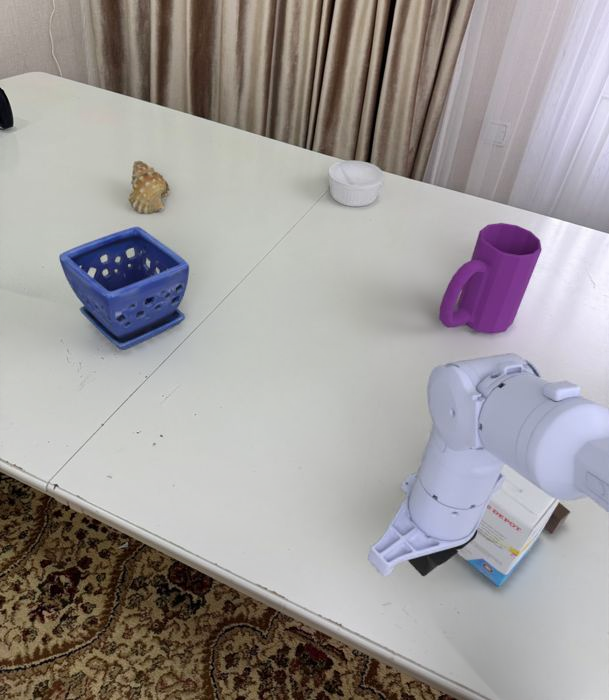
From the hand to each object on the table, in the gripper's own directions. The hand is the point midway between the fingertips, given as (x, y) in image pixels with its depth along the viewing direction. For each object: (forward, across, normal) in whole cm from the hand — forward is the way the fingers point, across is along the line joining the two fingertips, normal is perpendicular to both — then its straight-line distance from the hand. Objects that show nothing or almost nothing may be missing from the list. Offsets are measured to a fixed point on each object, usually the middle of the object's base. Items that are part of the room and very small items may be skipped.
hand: (420, 564), depth 58 cm
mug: (+10, -42, -27) cm, 51 cm away
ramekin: (+10, -53, -68) cm, 87 cm away
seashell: (+10, -17, -88) cm, 90 cm away
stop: (+9, -22, -2) cm, 24 cm away
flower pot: (+10, +2, -56) cm, 57 cm away
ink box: (+10, -14, 0) cm, 17 cm away
